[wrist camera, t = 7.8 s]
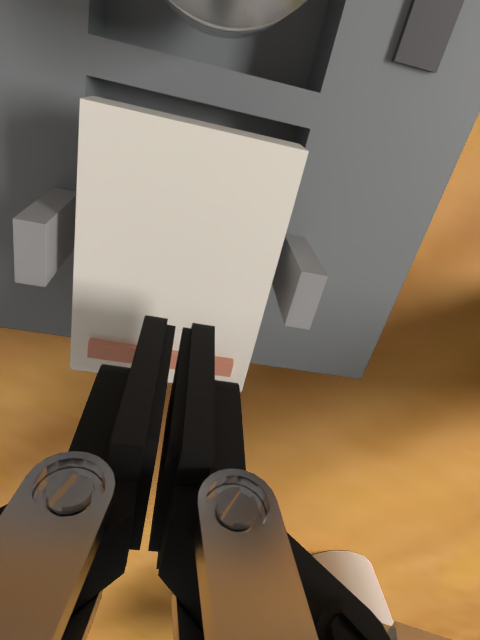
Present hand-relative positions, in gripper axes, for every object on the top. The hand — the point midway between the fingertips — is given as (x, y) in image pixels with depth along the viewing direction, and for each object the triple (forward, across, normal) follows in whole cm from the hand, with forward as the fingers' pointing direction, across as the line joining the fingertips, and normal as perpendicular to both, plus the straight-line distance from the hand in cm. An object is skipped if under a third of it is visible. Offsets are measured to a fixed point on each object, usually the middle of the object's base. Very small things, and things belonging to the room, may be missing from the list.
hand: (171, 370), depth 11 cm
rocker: (+2, 0, -2) cm, 3 cm away
